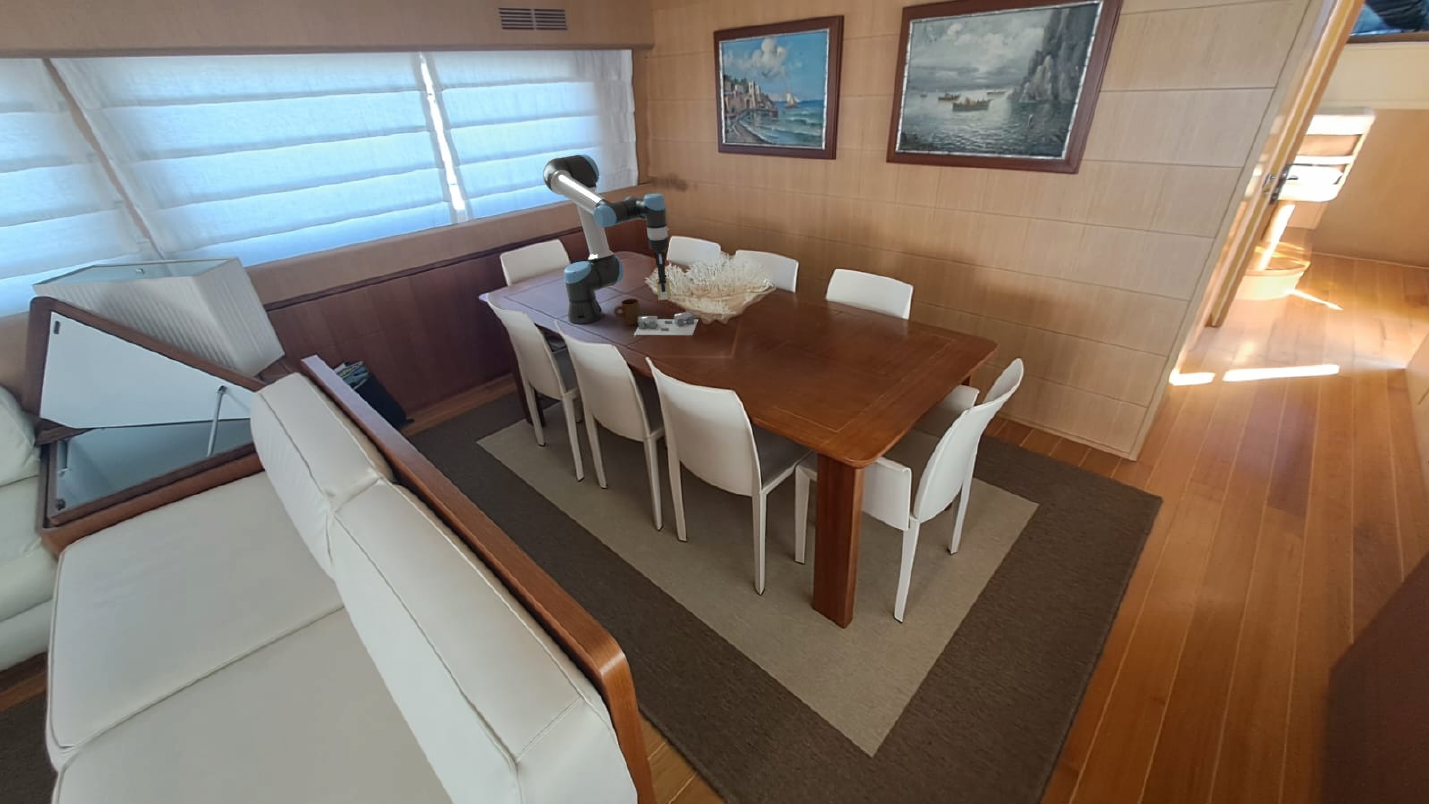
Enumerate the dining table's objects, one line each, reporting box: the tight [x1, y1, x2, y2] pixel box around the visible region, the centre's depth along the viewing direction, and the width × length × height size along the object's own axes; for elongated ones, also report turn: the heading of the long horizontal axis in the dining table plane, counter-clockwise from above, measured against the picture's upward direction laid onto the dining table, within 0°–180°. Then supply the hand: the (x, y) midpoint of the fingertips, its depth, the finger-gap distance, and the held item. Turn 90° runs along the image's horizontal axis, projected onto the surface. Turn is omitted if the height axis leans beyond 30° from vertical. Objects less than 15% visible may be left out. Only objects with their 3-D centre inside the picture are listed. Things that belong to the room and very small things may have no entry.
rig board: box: [633, 318, 699, 338], centre depth 224 cm, size 24×16×2 cm, turn 82°
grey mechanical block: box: [637, 315, 658, 329], centre depth 224 cm, size 8×5×5 cm, turn 82°
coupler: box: [655, 277, 672, 301], centre depth 215 cm, size 5×5×7 cm
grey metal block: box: [673, 310, 695, 327], centre depth 225 cm, size 8×5×5 cm, turn 112°
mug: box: [613, 298, 642, 326], centre depth 229 cm, size 12×8×9 cm, turn 131°
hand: (663, 296), depth 217 cm, fingers closed on coupler, 5 cm apart
